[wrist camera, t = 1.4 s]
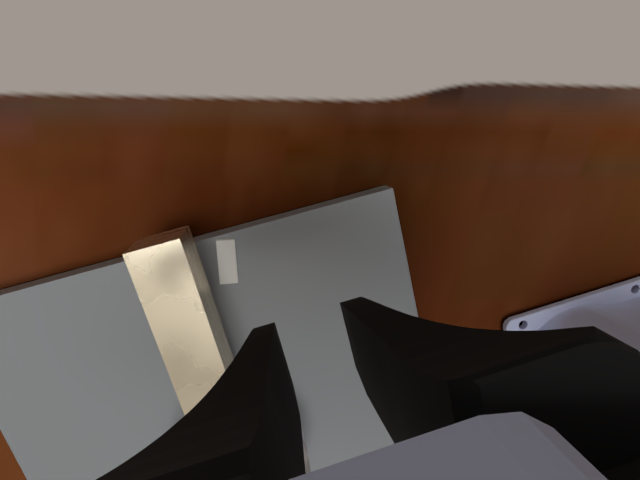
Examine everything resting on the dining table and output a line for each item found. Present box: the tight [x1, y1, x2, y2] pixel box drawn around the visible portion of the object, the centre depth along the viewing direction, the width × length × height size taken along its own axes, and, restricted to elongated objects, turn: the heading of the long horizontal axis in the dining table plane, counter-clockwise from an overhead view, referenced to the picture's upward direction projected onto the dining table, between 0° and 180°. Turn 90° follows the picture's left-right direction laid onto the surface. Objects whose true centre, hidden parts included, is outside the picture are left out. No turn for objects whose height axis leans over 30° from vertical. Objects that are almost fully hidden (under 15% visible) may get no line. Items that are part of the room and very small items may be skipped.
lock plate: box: [0, 185, 418, 480], centre depth 22 cm, size 20×20×2 cm
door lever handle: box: [122, 225, 311, 473], centre depth 18 cm, size 14×6×4 cm, turn 14°
